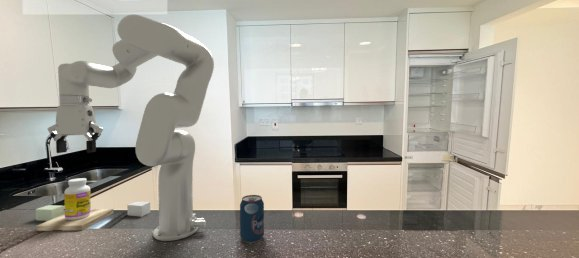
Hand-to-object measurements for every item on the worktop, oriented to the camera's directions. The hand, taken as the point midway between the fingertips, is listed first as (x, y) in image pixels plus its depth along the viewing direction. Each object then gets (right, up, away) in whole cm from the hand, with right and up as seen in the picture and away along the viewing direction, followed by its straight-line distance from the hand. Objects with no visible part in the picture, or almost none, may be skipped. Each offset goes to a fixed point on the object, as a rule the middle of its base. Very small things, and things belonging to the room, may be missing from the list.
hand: (76, 152), depth 81 cm
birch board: (0, -24, +1) cm, 24 cm away
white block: (+16, -24, +8) cm, 30 cm away
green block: (-12, -24, +3) cm, 27 cm away
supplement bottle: (0, -22, +1) cm, 22 cm away
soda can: (+61, -24, -11) cm, 67 cm away
